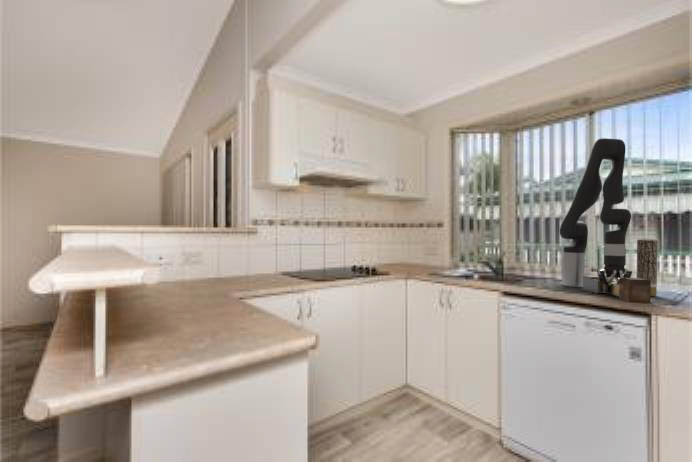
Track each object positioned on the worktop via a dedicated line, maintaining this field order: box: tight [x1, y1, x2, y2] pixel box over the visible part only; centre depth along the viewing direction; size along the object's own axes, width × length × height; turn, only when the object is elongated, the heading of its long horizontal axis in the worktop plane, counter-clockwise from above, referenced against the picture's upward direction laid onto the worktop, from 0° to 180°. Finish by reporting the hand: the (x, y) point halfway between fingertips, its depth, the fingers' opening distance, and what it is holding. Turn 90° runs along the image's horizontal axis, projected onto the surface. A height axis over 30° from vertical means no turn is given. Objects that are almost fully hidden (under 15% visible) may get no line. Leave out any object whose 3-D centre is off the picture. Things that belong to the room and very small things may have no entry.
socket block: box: [618, 277, 652, 303], centre depth 136 cm, size 5×8×9 cm, turn 90°
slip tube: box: [595, 279, 619, 296], centre depth 149 cm, size 19×4×4 cm, turn 0°
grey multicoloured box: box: [581, 274, 616, 294], centre depth 156 cm, size 10×8×7 cm
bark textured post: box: [635, 238, 659, 297], centre depth 150 cm, size 7×7×25 cm
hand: (614, 293), depth 147 cm, fingers closed on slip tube, 4 cm apart
